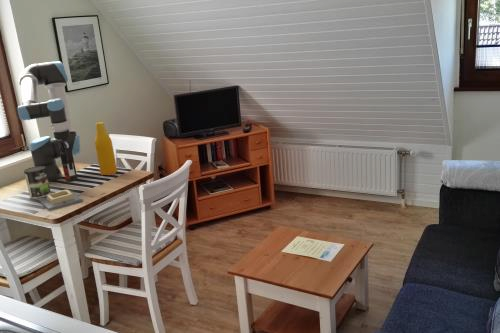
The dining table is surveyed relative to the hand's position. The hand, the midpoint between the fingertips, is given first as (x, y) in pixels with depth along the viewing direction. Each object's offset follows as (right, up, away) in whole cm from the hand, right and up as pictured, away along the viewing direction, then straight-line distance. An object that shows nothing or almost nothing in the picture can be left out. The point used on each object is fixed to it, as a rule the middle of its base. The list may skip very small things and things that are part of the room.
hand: (70, 173), depth 265 cm
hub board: (0, -13, -14) cm, 19 cm away
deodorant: (0, -3, +1) cm, 4 cm away
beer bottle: (+13, 0, +26) cm, 29 cm away
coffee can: (-15, -11, 0) cm, 19 cm away
